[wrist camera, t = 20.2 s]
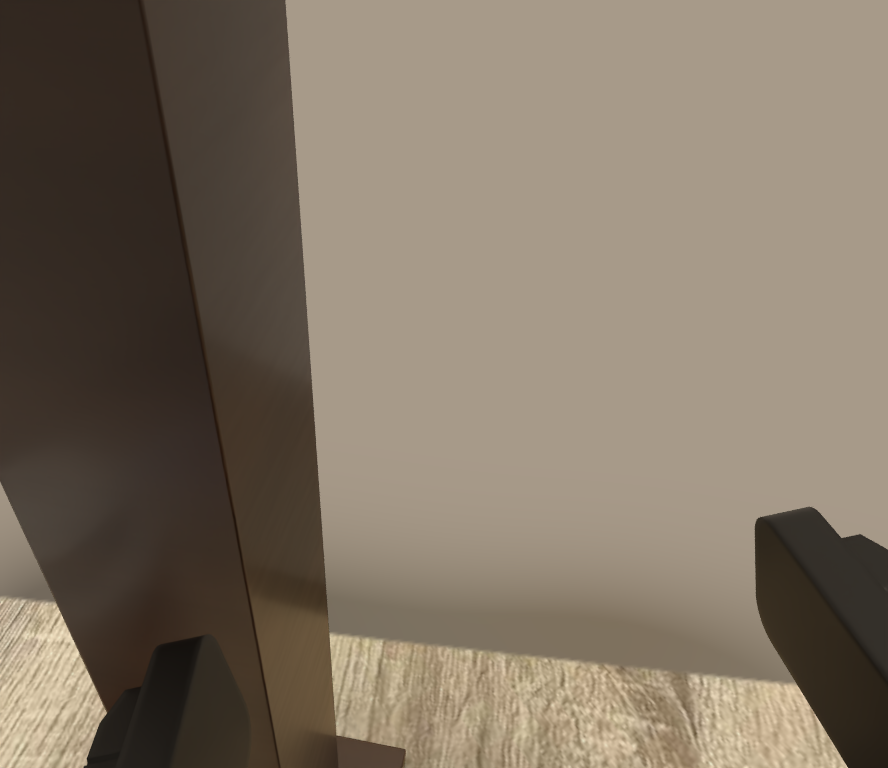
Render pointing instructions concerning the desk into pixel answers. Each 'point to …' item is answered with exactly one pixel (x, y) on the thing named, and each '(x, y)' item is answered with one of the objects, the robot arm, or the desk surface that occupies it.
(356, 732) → the desk surface
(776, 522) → the robot arm
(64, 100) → the brown pedestal stand
